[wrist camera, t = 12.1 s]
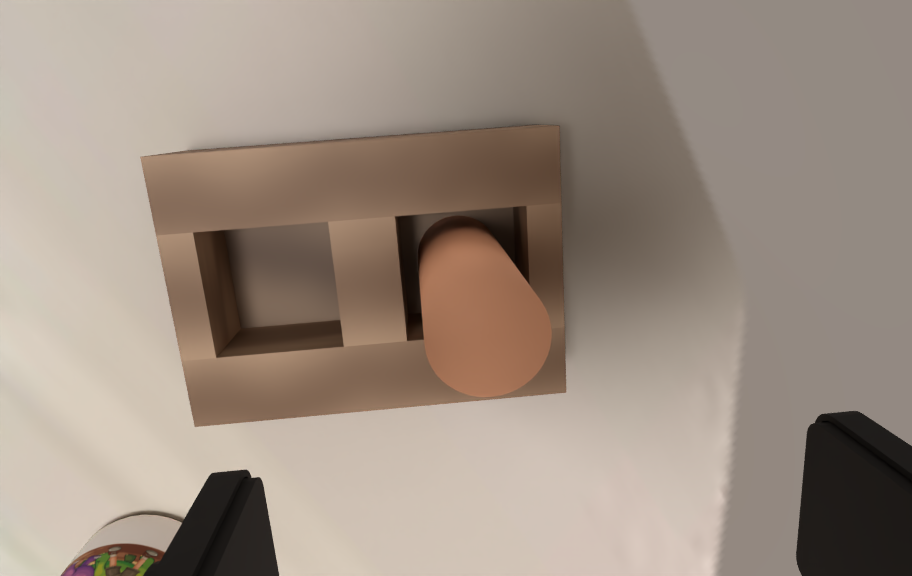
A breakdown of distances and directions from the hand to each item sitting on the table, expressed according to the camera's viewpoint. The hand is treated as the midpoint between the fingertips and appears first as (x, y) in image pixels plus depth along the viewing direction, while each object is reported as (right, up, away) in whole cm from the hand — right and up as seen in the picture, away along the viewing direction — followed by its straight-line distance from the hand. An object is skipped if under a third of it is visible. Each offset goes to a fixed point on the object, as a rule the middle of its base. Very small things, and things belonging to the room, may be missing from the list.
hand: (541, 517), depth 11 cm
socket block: (-5, +5, +21) cm, 23 cm away
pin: (-1, +5, +20) cm, 21 cm away
